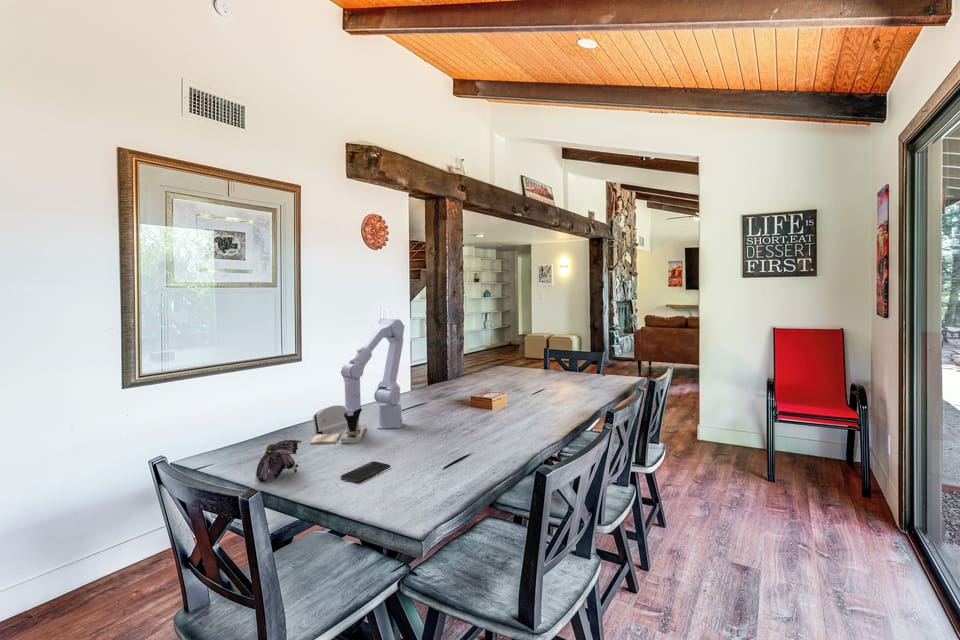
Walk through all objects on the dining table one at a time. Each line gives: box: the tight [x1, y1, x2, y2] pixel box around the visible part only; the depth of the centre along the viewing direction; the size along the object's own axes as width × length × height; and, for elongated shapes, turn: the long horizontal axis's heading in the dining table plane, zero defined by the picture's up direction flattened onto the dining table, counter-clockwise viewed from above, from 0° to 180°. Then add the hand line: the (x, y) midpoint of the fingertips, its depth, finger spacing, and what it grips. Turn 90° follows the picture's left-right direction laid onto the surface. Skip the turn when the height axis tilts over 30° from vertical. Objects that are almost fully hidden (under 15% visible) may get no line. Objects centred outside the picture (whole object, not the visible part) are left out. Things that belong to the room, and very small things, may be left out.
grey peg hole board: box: [340, 423, 367, 444], centre depth 191 cm, size 7×18×2 cm, turn 6°
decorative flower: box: [255, 439, 303, 483], centre depth 152 cm, size 14×12×15 cm
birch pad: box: [310, 433, 341, 445], centre depth 186 cm, size 9×9×1 cm
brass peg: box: [346, 418, 360, 434], centre depth 189 cm, size 4×4×6 cm
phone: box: [340, 461, 391, 484], centre depth 153 cm, size 8×1×15 cm
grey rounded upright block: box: [312, 405, 347, 435], centre depth 202 cm, size 17×5×10 cm, turn 148°
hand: (353, 429), depth 189 cm, fingers closed on brass peg, 4 cm apart
